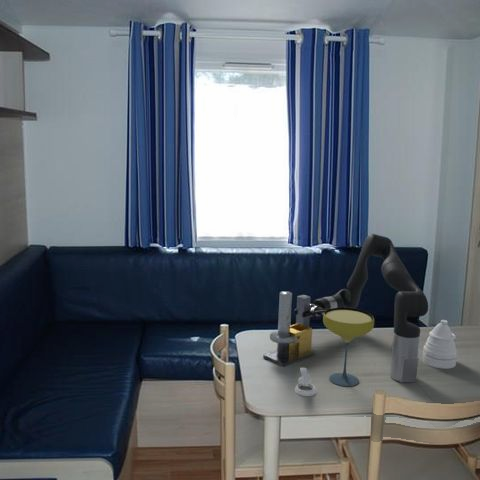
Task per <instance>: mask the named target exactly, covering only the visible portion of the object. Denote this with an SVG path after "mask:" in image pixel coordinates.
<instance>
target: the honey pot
mask: <svg viewBox="0 0 480 480" xmlns="http://www.w3.org/2000/svg"><path fill="white" fill-rule="evenodd" d="M428 334H429V336H428V338H427V339H426V342H425V344H424V345H423V348H422V358H421V360H422V362H423V363H424V364H426V365H427V366H430V367H433V368H437V369H453V368H455V367H456V366H457V359H458V358H457V357H458V351H457V347H456V343H455V340H456V335H455V334H454V333H453V332H452V330H451V329H450V326H449V325H448V320H446V319H441V320H440V322H439V323H437V325H436V326H434V328H433V329H432V330H431V331H429V332H428Z"/></svg>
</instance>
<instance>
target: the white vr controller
mask: <svg viewBox="0 0 480 480" xmlns="http://www.w3.org/2000/svg"><path fill="white" fill-rule="evenodd" d="M299 370H300V374H301V376H299V378H298V380H297V381H298V383H297V384H296V386H295V388H294V392H295V393H296V394H297V395H299V396H304V397H312V396H314V395H315V394H317V389H316V386H315V385H314V384H311V377H310V374H309V371H308V369H307V368H306V367H300V368H299ZM301 387H307V388H310V390H304V389H301Z"/></svg>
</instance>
